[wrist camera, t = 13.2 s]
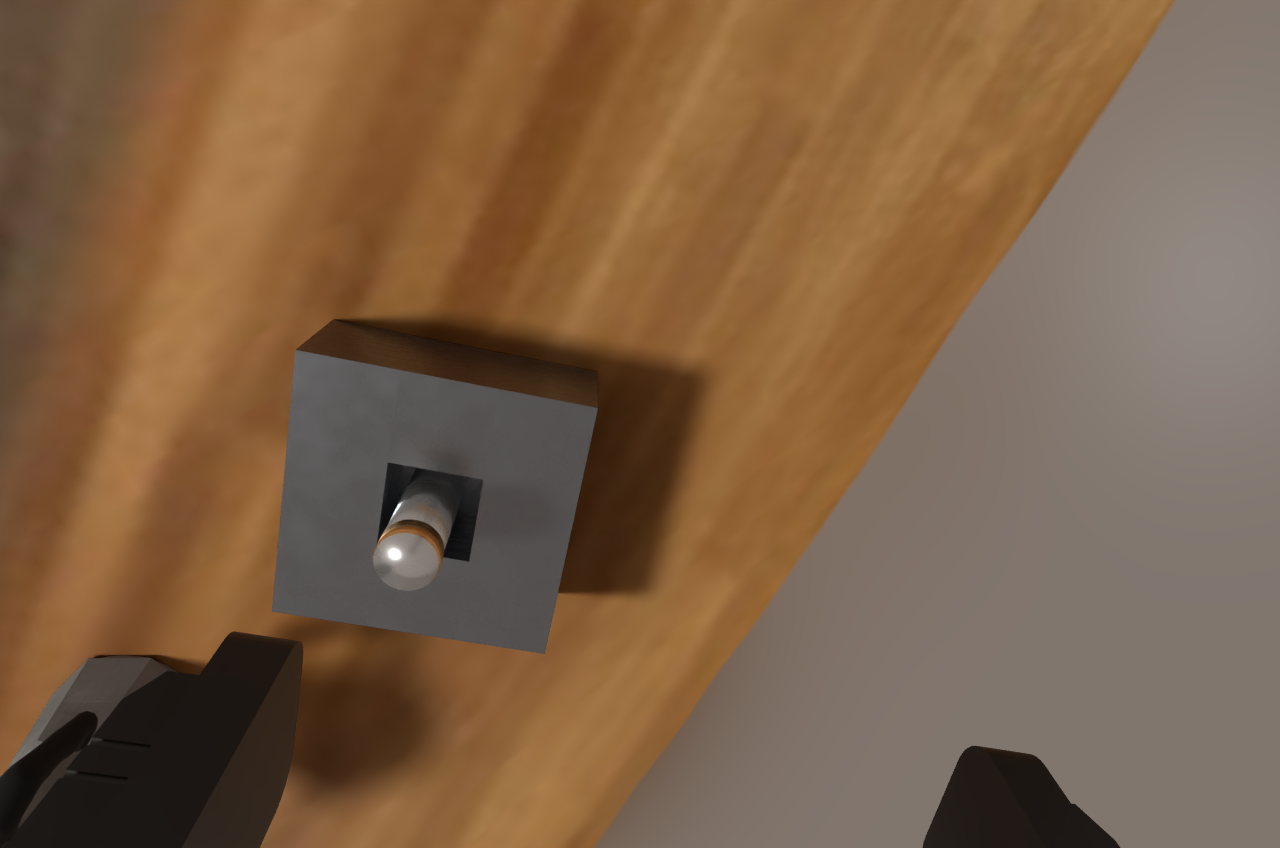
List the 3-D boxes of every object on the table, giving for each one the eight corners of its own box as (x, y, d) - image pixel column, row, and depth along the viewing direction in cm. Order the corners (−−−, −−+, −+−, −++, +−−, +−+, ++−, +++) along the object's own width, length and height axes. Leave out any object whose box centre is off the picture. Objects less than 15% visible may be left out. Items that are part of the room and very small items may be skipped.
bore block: (597, 371, 46) (598, 408, 40) (550, 593, 51) (544, 653, 45) (333, 319, 44) (295, 349, 39) (308, 553, 49) (272, 611, 43)
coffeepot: (184, 815, 55) (3, 1128, 38) (32, 771, 53) (-229, 1079, 36) (252, 625, 50) (80, 884, 34) (87, 571, 49) (-181, 815, 32)
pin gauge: (473, 452, 46) (443, 539, 37) (466, 499, 47) (434, 596, 38) (420, 442, 46) (375, 527, 37) (413, 490, 47) (368, 585, 37)
